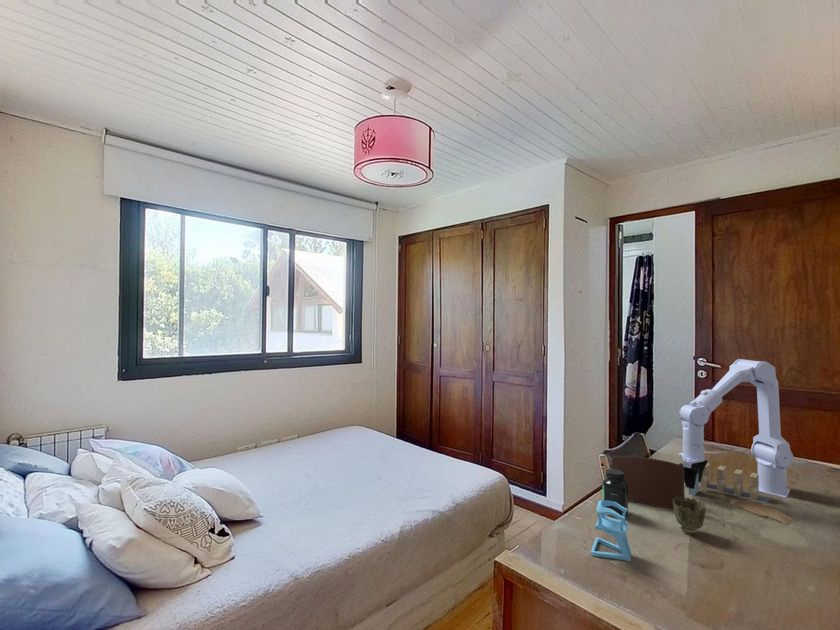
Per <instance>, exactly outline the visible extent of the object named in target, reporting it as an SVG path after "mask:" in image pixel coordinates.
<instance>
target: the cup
mask: <svg viewBox="0 0 840 630" xmlns="http://www.w3.org/2000/svg"><path fill="white" fill-rule="evenodd" d="M673 506H674V508H673V512H674V517H675V520H676V522H677V523H678V524H679V525H680V528H681V531H682V532H683V533H684V534H687V535H690V536H695V535H697V533H698V529H701V528H702V527H703V525H704V522H705V519H706V518H705V517H706V510H707V507H706V506H707V505H706V504H705V503H702V502H701V501H698V500H696V499H695V498H690V497H686V499H684V500H682V499H681V497H679V498H678V497H677V496H676V497H675V499H674V498H673Z"/></svg>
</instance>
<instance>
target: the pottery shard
mask: <svg viewBox="0 0 840 630" xmlns="http://www.w3.org/2000/svg"><path fill="white" fill-rule="evenodd" d="M729 502H730V504H731V505H733V506H735V507H738V508H740V509H742V510H744V511H746V512H748V513H750V514H751V515H755V516H757V517H759V518H760V517H762V518H763V519H768V520H771V521H775V522H776V523H780V524H782V525H786V526H789V525H790V524H791V523H793V522H797V520H796V519H795V518H794V517H791V516H788V515H786V514H785V513H783V512H782V511H780V510H778V509H775V508H773V507H771V506H769V505H768V504H765V503H761V502H757V501H746V500H741V499H732V500H730V501H729Z"/></svg>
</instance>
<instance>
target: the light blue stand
mask: <svg viewBox="0 0 840 630" xmlns="http://www.w3.org/2000/svg"><path fill="white" fill-rule="evenodd" d="M605 506H615V507H617V508H619V509H620V510H621V511H623V513H622V516H621V515H619V514H618V513H617V512H615V511H614V510H612V509H610V508H606V507H605ZM627 510H628V511H629V508H628V509H627V508H624V507H622V506H621V505H619V504H618V503H616V502H614V501H609V500H603V499H602V500H598V501H597V506H596V514H597V522H596V523H595V527H594V528H595V529H594V530H597V531H601V532H604V533H606V534H608V535H610V536H611V537H612V538H614V540H615V542H616V543H617V544H618V545H617V544H614V543H613V542H610V541H607V540H605V539H602V538H601V537H595V539H594V542H593V545H592V547H591V549H590V550H591V551H590V553H591V556H593V557H598V558H605V559H613V560H621V561H624V562H625V561H626V562H630V561H631V556H632V551H631V548H630V544H629V541H628V536H627V534H626V533H627V529H628V526H629V525H628V524H629V523H628V521H627V520H626V517H625V514H626V511H627ZM606 515H607V516H606ZM610 515H612V516H611V517H609V516H610ZM613 516H614V518H613ZM598 543H599V544H602V545H604V546H606V547H608V548H610V549H612V550H614V551H616V552H607V551H598V550H597V547H598ZM596 550H597V551H596ZM617 552H619V553H617Z"/></svg>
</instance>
